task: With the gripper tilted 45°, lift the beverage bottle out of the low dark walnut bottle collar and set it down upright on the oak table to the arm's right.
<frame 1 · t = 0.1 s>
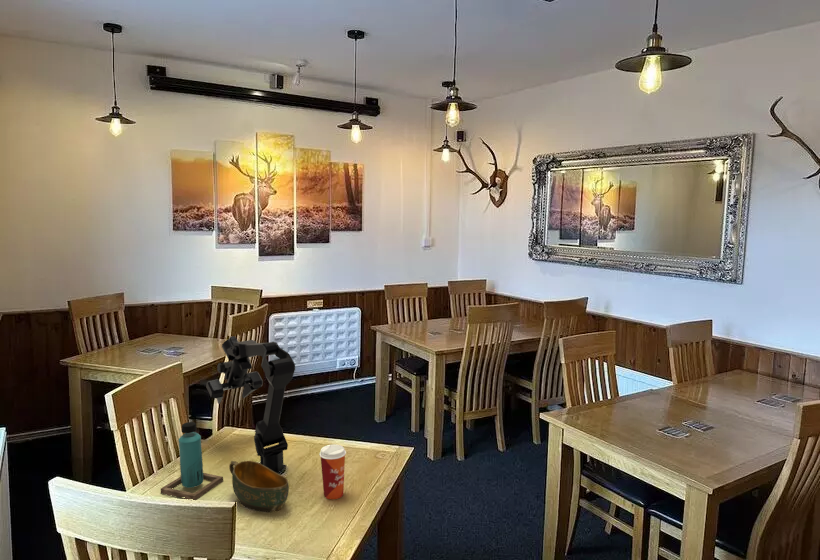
hand: (230, 400, 199), 15 cm above the table, tool tilted 35°, fingers open, 9 cm apart
walnut collar: (192, 487, 166), on the table
paper cup: (333, 495, 162), on the table
beverage bottle: (192, 487, 166), resting in walnut collar
cup: (259, 502, 158), on the table
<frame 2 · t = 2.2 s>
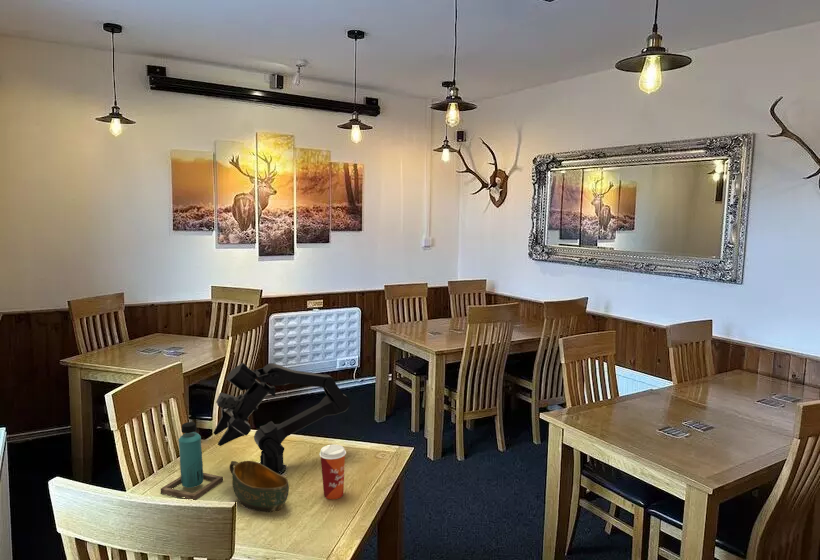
hand: (216, 439, 168), 14 cm above the table, tool tilted 45°, fingers open, 9 cm apart
nothing on the table moved.
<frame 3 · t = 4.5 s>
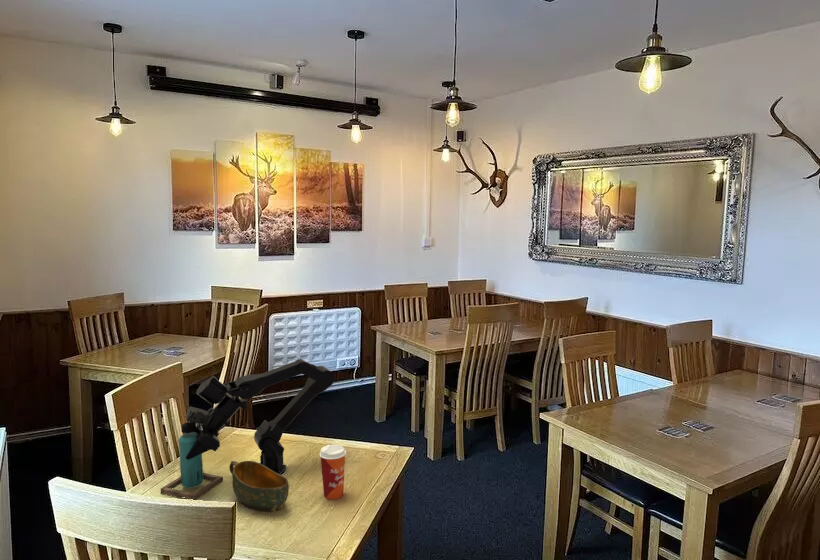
hand: (185, 454, 164), 11 cm above the table, tool tilted 45°, fingers closed on beverage bottle, 6 cm apart
beverage bottle: (192, 487, 166), resting in walnut collar, touching gripper
everything else where it was.
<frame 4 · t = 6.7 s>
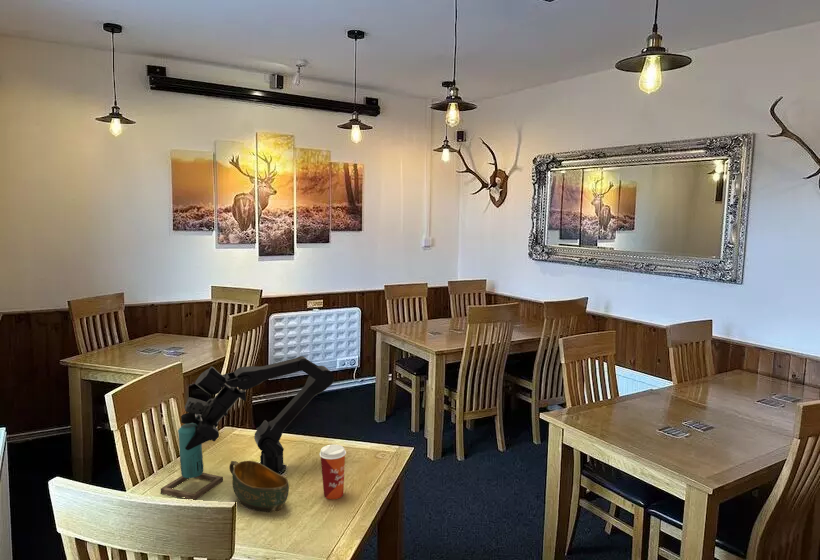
hand: (185, 445, 164), 13 cm above the table, tool tilted 45°, fingers closed on beverage bottle, 6 cm apart
beverage bottle: (192, 478, 166), point 2 cm above the table, touching gripper
everything else where it was.
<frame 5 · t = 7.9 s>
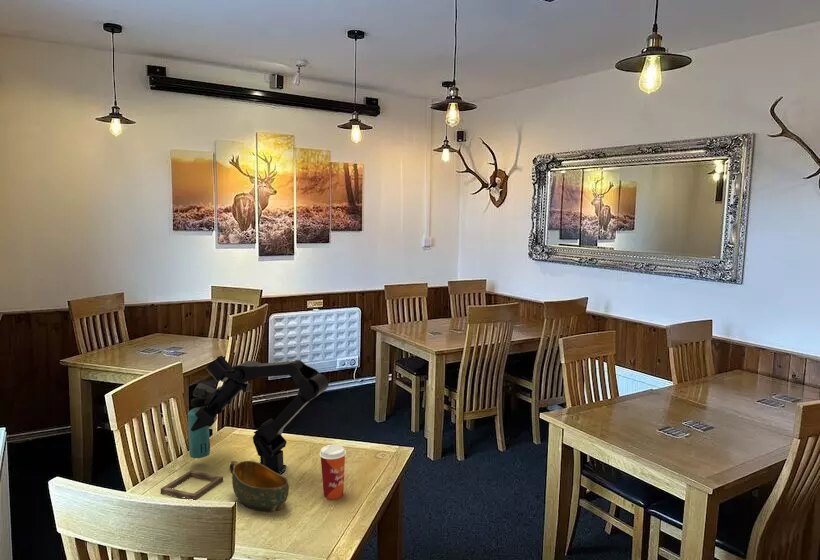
hand: (194, 426, 179), 13 cm above the table, tool tilted 45°, fingers closed on beverage bottle, 6 cm apart
beverage bottle: (200, 459, 179), point 2 cm above the table, touching gripper
everything else where it was.
when the fingers open (11 cm above the table, at t = 9.1 s): beverage bottle stays where it is, on the table.
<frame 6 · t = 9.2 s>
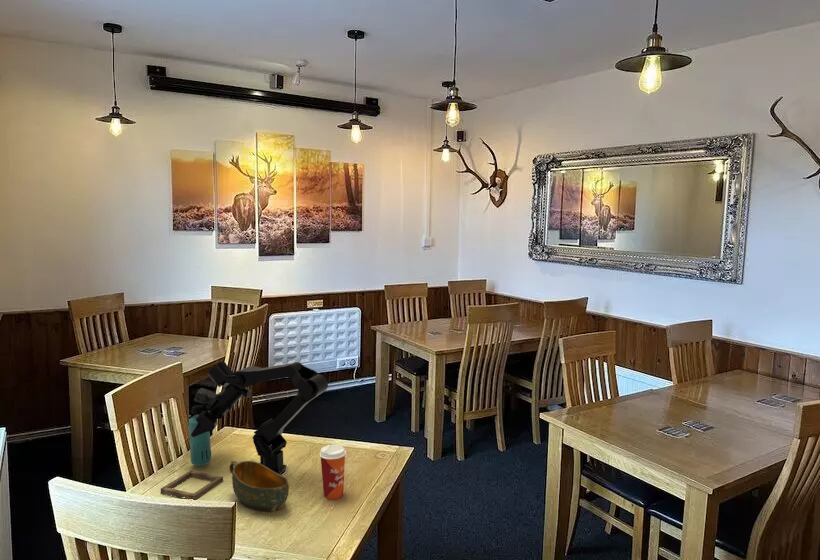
hand: (195, 431, 179), 11 cm above the table, tool tilted 45°, fingers open, 7 cm apart
beverage bottle: (201, 466, 180), on the table, touching gripper
everything else where it was.
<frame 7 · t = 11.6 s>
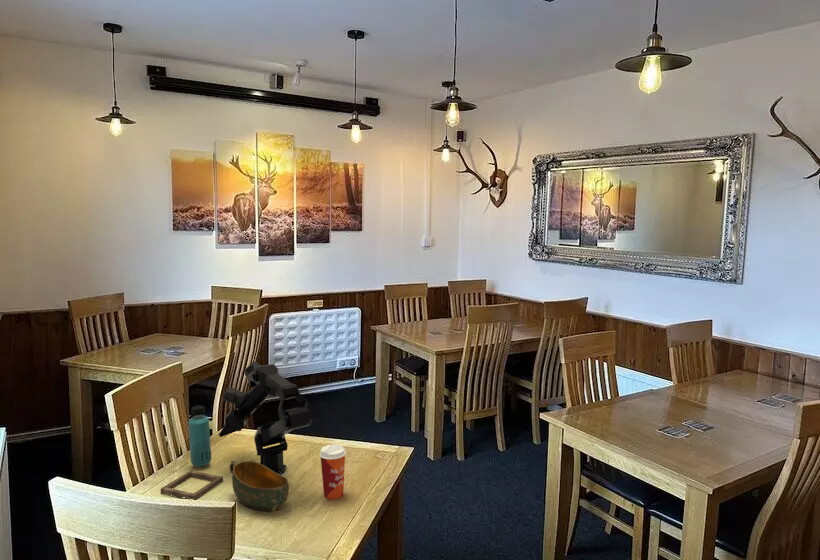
hand: (223, 430, 180), 12 cm above the table, tool tilted 45°, fingers open, 9 cm apart
beverage bottle: (201, 466, 180), on the table
everything else where it was.
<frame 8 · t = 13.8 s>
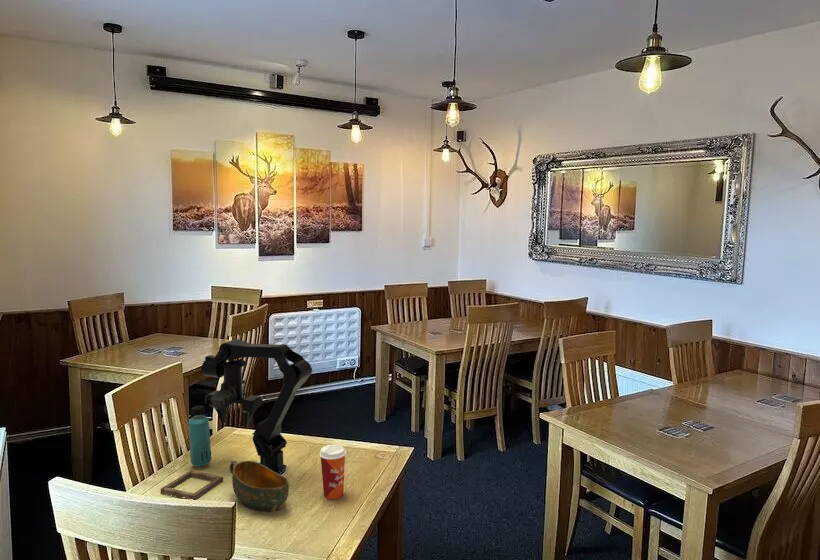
hand: (234, 425, 180), 13 cm above the table, tool pointing down, fingers open, 9 cm apart
nothing on the table moved.
at the end: beverage bottle inside the target area (1.1 cm from its centre), on the table; beverage bottle tilted 0°; beverage bottle touching table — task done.
